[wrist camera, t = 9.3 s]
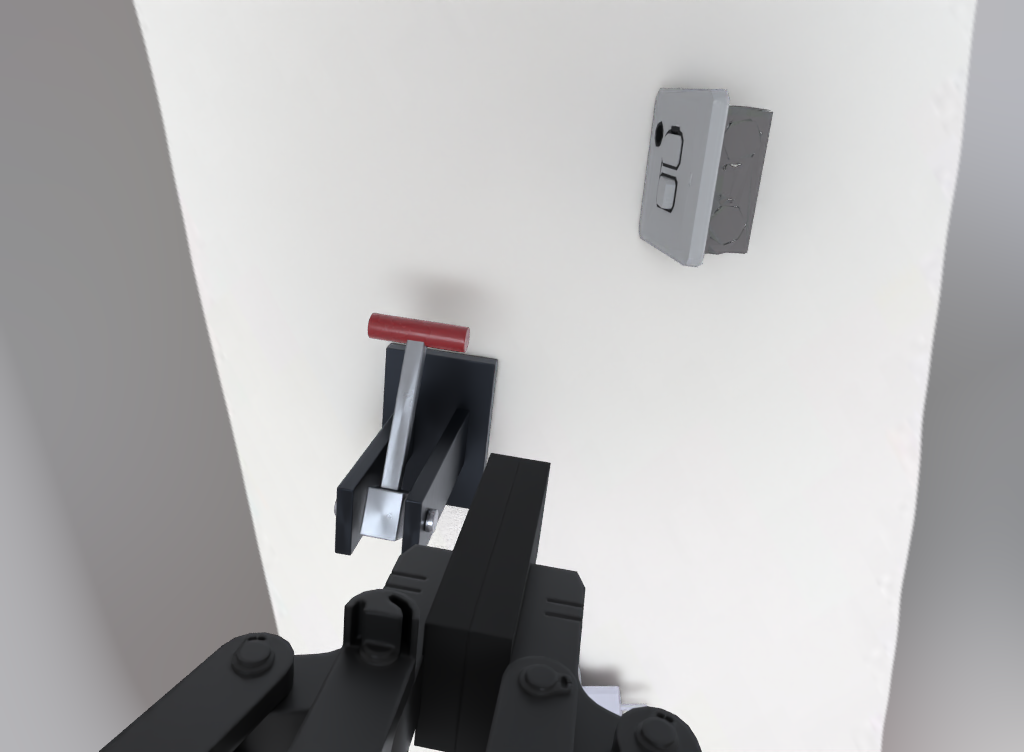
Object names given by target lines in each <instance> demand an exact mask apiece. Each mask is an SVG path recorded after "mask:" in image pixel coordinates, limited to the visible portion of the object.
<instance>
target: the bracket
mask: <svg viewBox="0 0 1024 752" xmlns="http://www.w3.org/2000/svg"><path fill="white" fill-rule="evenodd" d="M405 349H406V345H400V344H393V343H391V344H390V345H389V346H388V347H387V348H386V366H385V384H384V402H383V420H382V429H381V430H380V432H379V433H378V434H377V436H376V437H375V438H374V440H373V441H372V442H371V444H370V445H369V446H368V448H367V449H366V450H365V452H364V453H363V454H362V456H361V457H360V458H359V460H358V461H357V462H356V464H355V465H354V466H353V468H352V469H351V470H350V472H349V473H348V474H347V475H346V477H345V478H344V479H343V481H342V482H341V483H340V485H339V486H338V487H337V499H336V502H335V508H334V512H335V515H336V534H335V553H339V554H345V555H351V554H352V552H353V551H354V549H355V547H356V546H357V544H358V542H359V541H360V539H361V538H362V536H363V535H360V528H361V523H362V517H363V512H364V507H365V501H366V496H367V490H368V487H374V486H381V481H382V475H383V470H384V464H385V459H386V453H387V448H388V442H389V437H390V431H391V426H392V420H393V415H394V409H395V404H396V398H397V393H398V387H399V382H400V376H401V371H402V365H403V360H404V354H405ZM497 363H498V360H496V359H490V358H483V357H477V356H471V355H464V354H458V353H451V352H445V351H438V350H432V349H427V350H426V355H425V361H424V366H423V372H422V378H421V383H420V389H419V394H418V400H417V406H416V411H415V417H414V422H413V428H412V433H411V439H410V445H409V450H408V456H407V461H406V467H405V473H404V478H403V484H402V489H401V490H406V491H410V493H409V494H408V496H407V498H406V500H405V510H404V525H403V539H402V553H401V554H403V553H404V552H405V551H407V550H408V549H410V548H411V547H412V546H414V545H415V544H418V545H424V546H427V544H428V542H429V540H430V538H431V535H432V533H434V531H435V529H436V525H437V522H438V520H439V518H440V516H441V513H442V511H443V509H444V507H445V505H451V506H456V507H462V508H468V509H469V508H470V506H471V503H472V501H473V498H474V496H475V493H476V490H477V488H478V485H479V483H480V480H481V478H482V475H483V473H484V470H485V467H486V461H487V452H488V443H489V435H490V426H491V417H492V408H493V399H494V390H495V381H496V372H497Z"/></svg>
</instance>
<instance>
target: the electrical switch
mask: <svg viewBox="0 0 1024 752" xmlns="http://www.w3.org/2000/svg"><path fill="white" fill-rule="evenodd" d="M729 102H730V98H729V95H728V91H727V90H725V89H712V90H710V89H680V88H677V89H674V88H661V89H660V91H659V93H658V95H657V97H656V104H655V111H654V119H653V126H652V134H651V141H650V149H649V157H648V164H647V172H646V179H645V187H644V194H643V202H642V209H641V217H640V225H639V234H640V238H641V239H642V240H644V241H646V242H647V243H649V244H651V245H652V246H654V247H655V248H657V249H658V250H660V251H662V252H663V253H665V254H666V255H668V256H669V257H671V258H672V259H674V260H675V261H677V262H679V263H680V264H682V265H683V266H692V267H697V266H699V265H701V264H703V258H704V253H709V254H722V253H743V254H745V253H747V250H748V245H749V239H750V234H751V228H752V223H753V218H754V212H755V207H756V201H757V196H758V191H759V185H760V180H761V174H762V169H763V164H764V158H765V153H766V147H767V142H768V137H769V131H770V126H771V120H772V115H773V112H769V111H767V110H766V109H759V108H752V107H745V106H729ZM730 122H732V123H730ZM760 132H761V133H762V134H761V133H760ZM730 164H741V165H739V166H737V167H733V166H730ZM724 166H725V170H723V169H724ZM729 198H730V199H733V200H728V199H729ZM734 206H737V207H738V208H737V207H734ZM718 208H720V209H719V210H718ZM745 224H746V226H745ZM744 226H745V227H744ZM743 228H744V229H743ZM734 240H735V241H734ZM732 241H734V242H732ZM729 242H730V243H729Z"/></svg>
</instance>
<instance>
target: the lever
mask: <svg viewBox="0 0 1024 752" xmlns="http://www.w3.org/2000/svg"><path fill="white" fill-rule="evenodd" d="M368 336H369V337H370V338H373V339H379V340H386V341H392V342H399V343H405V344H406V349H405V354H404V360H403V365H402V371H401V376H400V382H399V387H398V393H397V398H396V404H395V409H394V415H393V420H392V426H391V431H390V437H389V442H388V448H387V453H386V459H385V464H384V470H383V475H382V481H381V486H374V487H368V490H367V496H366V501H365V507H364V512H363V517H362V523H361V528H360V535H363V536H369V537H374V538H380V539H385V540H391V541H396V540H399V539H401V538H403V525H404V510H405V500H406V498H407V496H408V494H409V493H410V491H406V490H401V489H402V484H403V478H404V473H405V467H406V461H407V456H408V450H409V445H410V439H411V433H412V428H413V422H414V417H415V411H416V406H417V400H418V394H419V389H420V383H421V378H422V372H423V366H424V361H425V355H426V350H427V347H431V348H437V349H444V350H450V351H457V352H463V353H465V352H466V350H467V347H468V343H469V336H470V330H469V327H463V326H457V325H450V324H443V323H437V322H430V321H424V320H417V319H411V318H404V317H397V316H391V315H384V314H378V313H373V314H372V315H371V317H370V319H369V323H368Z"/></svg>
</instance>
